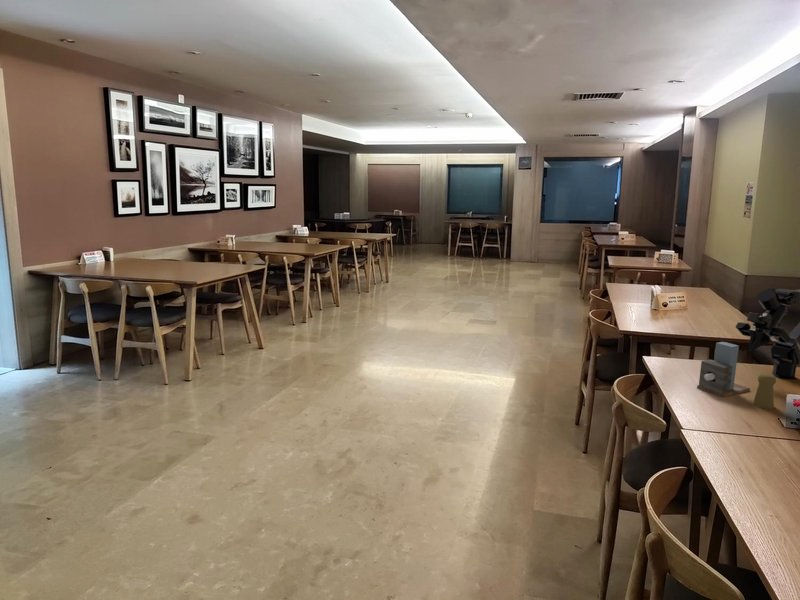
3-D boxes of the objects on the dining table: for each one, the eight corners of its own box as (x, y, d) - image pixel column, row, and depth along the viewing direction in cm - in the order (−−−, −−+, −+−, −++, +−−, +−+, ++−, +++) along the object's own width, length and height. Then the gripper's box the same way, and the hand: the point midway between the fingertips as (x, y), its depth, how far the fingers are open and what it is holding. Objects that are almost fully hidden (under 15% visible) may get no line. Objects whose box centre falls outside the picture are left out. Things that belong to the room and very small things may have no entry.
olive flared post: (777, 408, 192) (782, 377, 190) (759, 408, 192) (763, 377, 190) (766, 402, 198) (771, 371, 196) (749, 401, 198) (753, 371, 196)
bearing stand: (724, 382, 218) (727, 355, 216) (749, 390, 209) (753, 362, 207) (696, 388, 211) (699, 360, 209) (722, 396, 203) (725, 368, 201)
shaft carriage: (718, 383, 213) (723, 341, 210) (733, 388, 208) (738, 345, 205) (698, 387, 209) (703, 344, 206) (713, 392, 203) (718, 349, 200)
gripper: (738, 301, 223) (717, 333, 221) (784, 307, 205) (761, 341, 203) (754, 318, 226) (732, 350, 224) (800, 325, 209) (777, 359, 207)
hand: (750, 350), depth 215 cm, fingers closed
